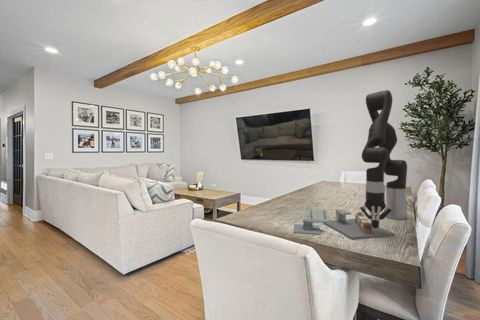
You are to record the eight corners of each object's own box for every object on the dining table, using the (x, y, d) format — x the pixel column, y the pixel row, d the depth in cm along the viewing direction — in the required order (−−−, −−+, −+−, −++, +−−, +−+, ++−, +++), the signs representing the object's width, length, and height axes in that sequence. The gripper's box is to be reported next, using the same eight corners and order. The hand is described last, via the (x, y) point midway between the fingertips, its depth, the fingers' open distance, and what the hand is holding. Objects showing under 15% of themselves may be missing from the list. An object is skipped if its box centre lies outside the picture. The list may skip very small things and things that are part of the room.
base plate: (358, 220, 128) (358, 208, 128) (394, 235, 104) (395, 221, 104) (322, 222, 124) (322, 211, 124) (351, 239, 100) (351, 225, 100)
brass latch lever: (354, 219, 124) (354, 213, 124) (363, 220, 123) (363, 213, 123) (362, 232, 106) (362, 224, 106) (373, 232, 104) (373, 225, 104)
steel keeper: (343, 220, 125) (343, 209, 124) (351, 224, 118) (351, 212, 118) (335, 221, 124) (335, 210, 124) (343, 224, 117) (343, 213, 117)
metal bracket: (304, 206, 139) (330, 207, 135) (304, 214, 141) (330, 216, 137) (304, 219, 126) (333, 221, 122) (304, 228, 128) (333, 230, 124)
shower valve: (327, 224, 106) (293, 222, 109) (327, 236, 106) (293, 233, 110) (324, 217, 117) (294, 215, 121) (324, 227, 118) (294, 225, 122)
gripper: (388, 189, 107) (388, 226, 108) (357, 189, 111) (357, 224, 112) (394, 192, 100) (394, 231, 101) (360, 191, 104) (360, 229, 105)
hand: (375, 227), depth 106 cm, fingers closed
